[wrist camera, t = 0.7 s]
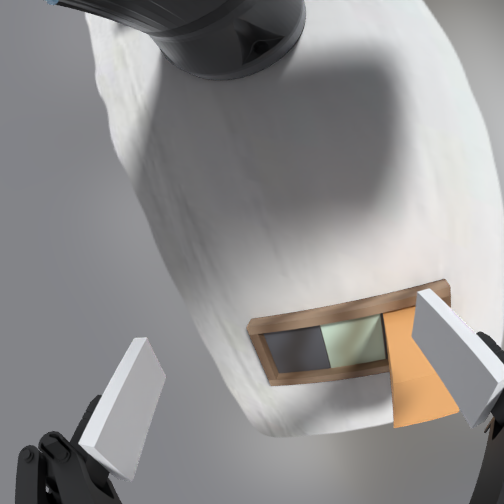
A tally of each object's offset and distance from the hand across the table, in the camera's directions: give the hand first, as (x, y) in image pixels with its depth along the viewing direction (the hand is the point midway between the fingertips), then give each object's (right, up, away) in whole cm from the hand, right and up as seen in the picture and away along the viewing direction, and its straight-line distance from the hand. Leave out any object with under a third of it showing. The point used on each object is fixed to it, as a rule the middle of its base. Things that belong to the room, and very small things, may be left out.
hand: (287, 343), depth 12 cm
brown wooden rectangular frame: (+9, -5, +16) cm, 19 cm away
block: (+15, -4, +12) cm, 20 cm away
